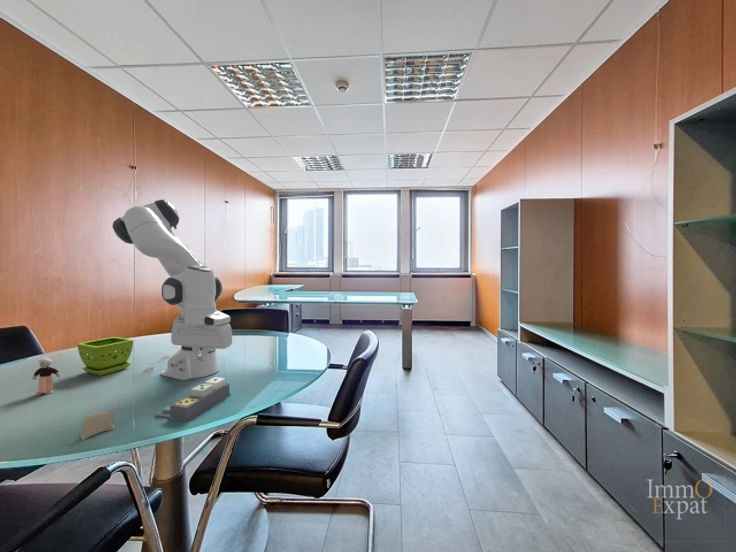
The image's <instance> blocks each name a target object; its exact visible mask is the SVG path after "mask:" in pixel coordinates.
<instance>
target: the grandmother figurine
mask: <svg viewBox="0 0 736 552" xmlns="http://www.w3.org/2000/svg"><path fill="white" fill-rule="evenodd" d="M38 363H39V367H40V368H38V369H37V370H36V371H35V372H34V373H33V376H32V378H31V380H33V381H34V380H36V379H37V378H38V391H37V392H36V393H35V395H34V396H40V395H43V393H44V395H51V394H53V393H54V392H53V391H54V390H53V389H54V381H53V380H54V379H53V375H55V376H56V378H60V377H61V374H60V372H59V370H58V369H57V368H54V367H52V366H50V365H51V364H53V360H52V358H51V359H50V357H46V356H45V357H41V358H39V360H38ZM38 376H39V377H38ZM52 392H53V393H52ZM50 393H51V394H50Z"/></svg>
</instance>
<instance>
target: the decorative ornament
mask: <svg viewBox="0 0 736 552" xmlns="http://www.w3.org/2000/svg"><path fill="white" fill-rule="evenodd" d="M118 408H119V405H116V406H114V407H113V408H112V409H111V410H110V411H102V410H101V411H95V412H93V413H92V414H90V415H88V416H87V417H86V418H85V419H84V422H83V423H82V428H81V434H80V435H79V436H80V438H81V439H82V440H83V441H84V440H85V439H88V438H89V437H91V436H94V435H97V434H99V433H101V432H104V431H106V432H107V431H111V430H115V429H116V426H115V424H113V419H112V416H111V414H113V412H114V411H116V410H117V409H118Z"/></svg>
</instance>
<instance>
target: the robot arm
mask: <svg viewBox="0 0 736 552" xmlns="http://www.w3.org/2000/svg"><path fill="white" fill-rule="evenodd" d="M179 222H180V216H179V211H178V210H177V208H176V207H175V205H173V204H172V203H171V202H169V201H168V200H167V199H164V198H163V199H158V200H155V201H154V202H150V203H148V204H144V205H137V206H136V205H135V206H132V207H130V208H128V209H127V210H126V211H125V213H124V215H123V216H119V217H117V218H116V219H115V220H114V221H113V222H112V229H113V232H114V234H115V236H116V237H117V238H118V239H119V240H121V241H123V242H124V244H125V243H126V244H130V245H134V246H135V248H136V249H137V250H138V251H139V253H141V254H143V255H145V256H147V257H150V258H154V259H157V260H158V261H159V262H160V264H161V266H162V268H163V269H164V271H165V272H166V273H167V274H168V275H169V277H167V279H165V280H164V282H163V284H162V285H161V296H162V299H163V300H164V302H166V303H167V304H169V305H170V306H176V307H177V308H178V310H179V312H180V314H181V315H177V316H176V317H175V318H174V319H173V321H172V327H171V335H170V336H171V337H170V341H171V343H172V345H174V346H181V347H180V349H179V350H177V351H176V352H175V353H174V354H173V355H171V356H170V357H169V358H168V361H167V366H166V368H165V369H163V370H162V371H160V375H161V376H164V377H169V378H172V379H176V380H180V381H185V380H186V381H187V380H190V379H197V378H203V377H207V376H211V375H214V374H216V373H218V372H219V371H220V370H221V367H220V365H219V361H218V357H217V351H216V350H219V349H221V350H225V349H227V348H229V347H231V345H232V344H233V332H232V331H233V329H232V326H231V324H230V322H231V316H230V315H228V314H227V313H224V312H222V311H220V310H218V309H217V304H216V301H217V300H218V299H219V298H221V296H222V295H223V285H222V282H221V280H220V279H219V277H217V276H216V275H215V272H214V270H213V269H212V268H211V267H209V266H206V265H204V263H203V262H202V261H201V260H200V258H199V257H197V255H196V254H195V253H194V251H192V250H191V248H189V247H188V246H187V245H186V244H185V243H184V242H183V241H182V240H181V239H180V237H179V236H178V235H177V234H176V233H175V232H174V231H173V230H172V228H173V229H174V230H177V229H178V228H177V226H178V224H179Z"/></svg>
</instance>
